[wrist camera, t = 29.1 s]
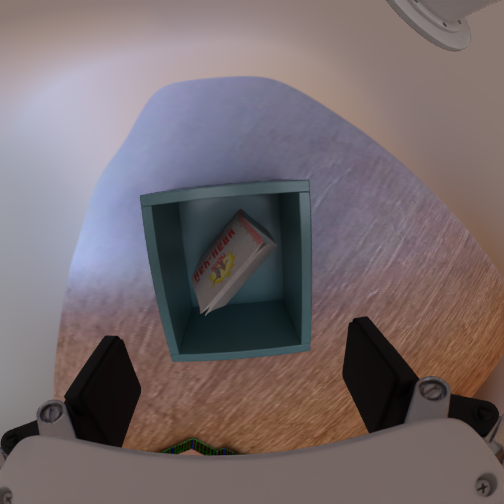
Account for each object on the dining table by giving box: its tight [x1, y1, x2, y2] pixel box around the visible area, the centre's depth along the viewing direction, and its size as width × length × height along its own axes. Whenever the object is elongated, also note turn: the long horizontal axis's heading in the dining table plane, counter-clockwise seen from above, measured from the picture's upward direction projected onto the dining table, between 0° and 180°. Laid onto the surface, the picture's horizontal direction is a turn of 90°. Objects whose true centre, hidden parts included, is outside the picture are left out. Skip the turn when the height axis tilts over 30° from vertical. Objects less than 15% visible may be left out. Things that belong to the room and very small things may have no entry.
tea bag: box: [191, 209, 278, 316], centre depth 23 cm, size 4×7×10 cm, turn 140°
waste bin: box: [140, 180, 312, 362], centre depth 24 cm, size 14×12×10 cm
